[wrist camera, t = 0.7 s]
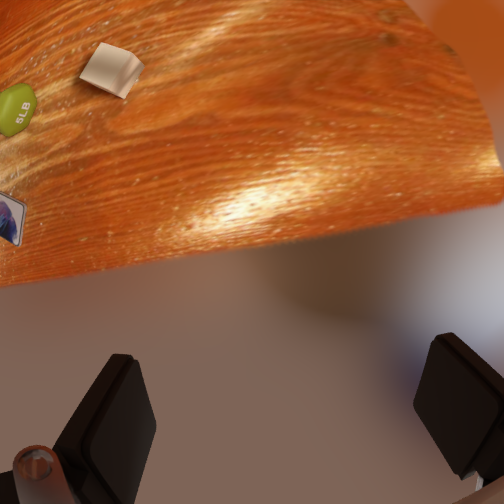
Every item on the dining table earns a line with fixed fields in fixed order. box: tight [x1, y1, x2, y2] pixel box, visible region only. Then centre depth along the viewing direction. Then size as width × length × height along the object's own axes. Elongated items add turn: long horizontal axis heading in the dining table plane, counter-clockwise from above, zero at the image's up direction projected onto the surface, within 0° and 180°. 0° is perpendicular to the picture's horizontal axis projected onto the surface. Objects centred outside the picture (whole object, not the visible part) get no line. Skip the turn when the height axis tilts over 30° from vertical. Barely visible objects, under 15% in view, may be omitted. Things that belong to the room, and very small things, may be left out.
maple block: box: [79, 42, 145, 99], centre depth 29 cm, size 5×5×5 cm
